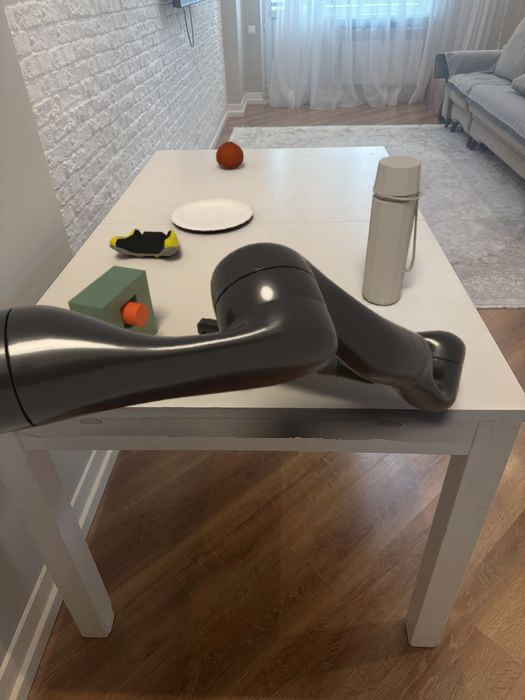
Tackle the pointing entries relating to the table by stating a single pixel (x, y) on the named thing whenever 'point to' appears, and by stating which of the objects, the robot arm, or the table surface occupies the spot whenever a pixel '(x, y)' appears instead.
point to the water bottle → (391, 228)
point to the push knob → (134, 313)
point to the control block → (116, 297)
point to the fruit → (229, 155)
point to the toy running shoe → (146, 243)
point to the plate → (211, 215)
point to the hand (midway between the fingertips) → (199, 326)
